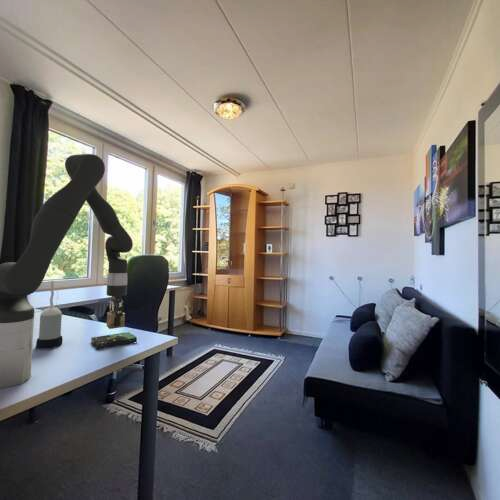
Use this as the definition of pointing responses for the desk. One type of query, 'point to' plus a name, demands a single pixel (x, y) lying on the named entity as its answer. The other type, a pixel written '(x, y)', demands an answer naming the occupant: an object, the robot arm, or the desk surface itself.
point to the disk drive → (113, 340)
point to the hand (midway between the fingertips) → (115, 324)
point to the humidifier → (50, 326)
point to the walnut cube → (111, 320)
